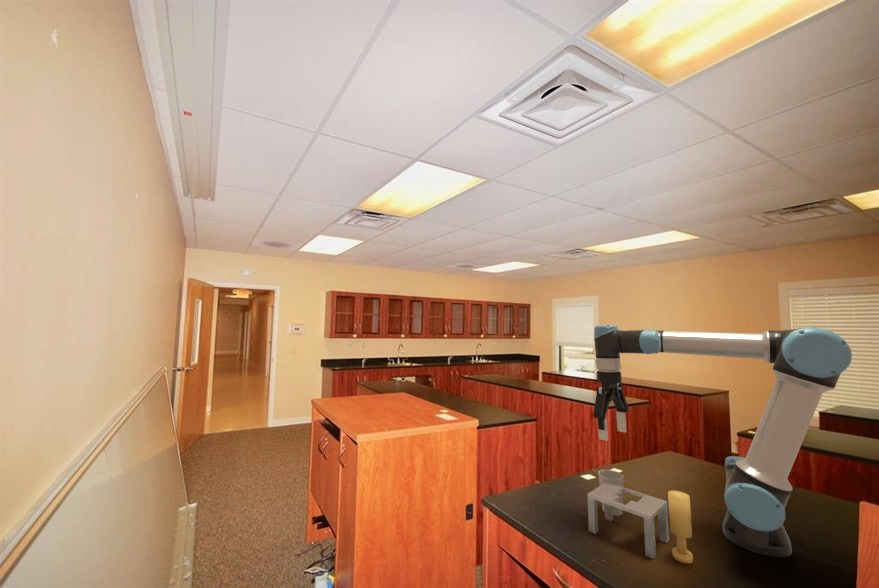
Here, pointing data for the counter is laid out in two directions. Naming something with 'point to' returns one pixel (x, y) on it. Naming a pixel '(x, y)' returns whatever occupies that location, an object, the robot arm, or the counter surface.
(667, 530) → the shelf
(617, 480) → the cup
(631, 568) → the counter surface
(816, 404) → the robot arm
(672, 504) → the yellow tall stemmed piece
